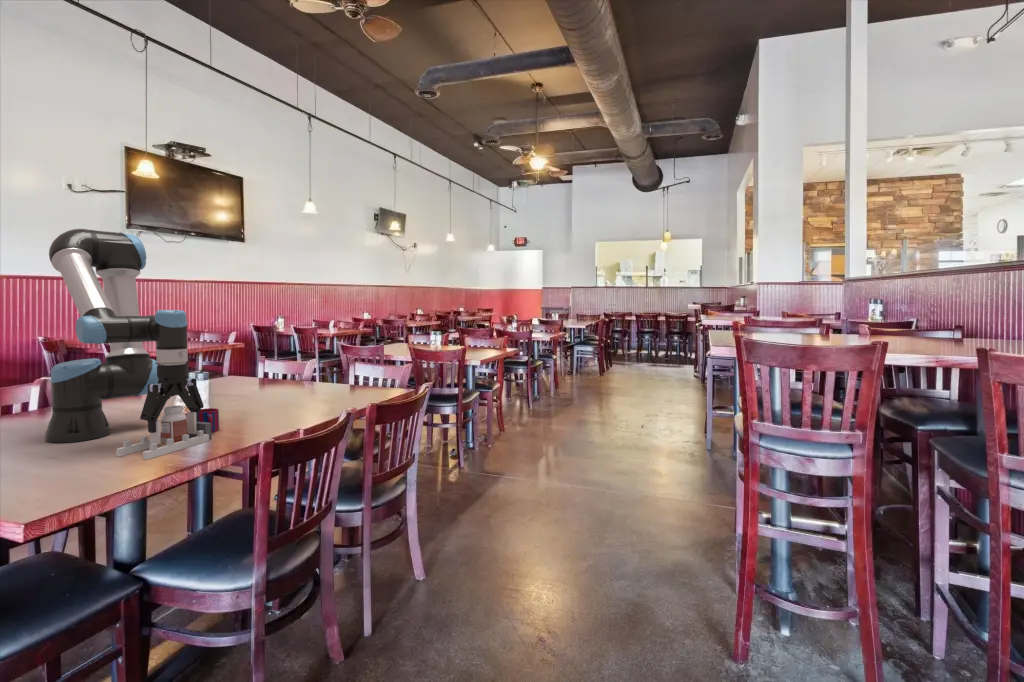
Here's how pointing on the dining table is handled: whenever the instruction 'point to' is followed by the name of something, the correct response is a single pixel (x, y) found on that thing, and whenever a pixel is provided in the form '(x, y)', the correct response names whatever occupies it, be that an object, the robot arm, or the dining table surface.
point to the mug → (210, 417)
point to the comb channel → (187, 441)
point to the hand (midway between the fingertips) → (174, 438)
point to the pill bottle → (173, 424)
